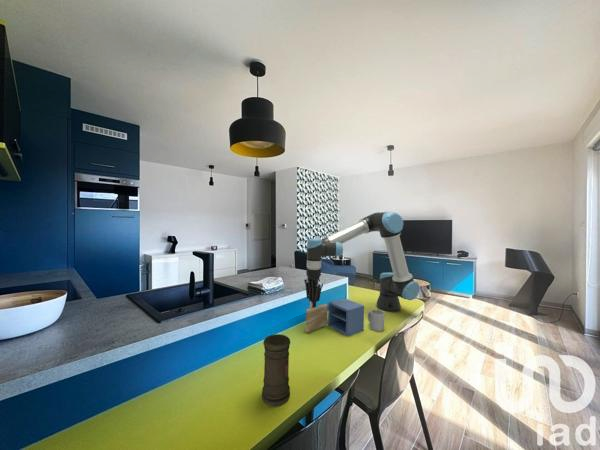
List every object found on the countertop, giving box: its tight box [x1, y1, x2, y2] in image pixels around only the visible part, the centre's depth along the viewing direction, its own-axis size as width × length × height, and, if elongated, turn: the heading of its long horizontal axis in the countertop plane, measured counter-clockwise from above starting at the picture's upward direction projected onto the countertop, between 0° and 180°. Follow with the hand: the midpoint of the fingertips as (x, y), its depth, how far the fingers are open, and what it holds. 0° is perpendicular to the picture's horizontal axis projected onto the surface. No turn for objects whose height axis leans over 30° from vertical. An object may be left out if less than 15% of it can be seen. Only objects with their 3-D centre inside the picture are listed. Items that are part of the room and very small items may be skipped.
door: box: [305, 303, 329, 333], centre depth 124 cm, size 1×15×11 cm, turn 130°
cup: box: [367, 308, 385, 333], centre depth 129 cm, size 7×10×9 cm
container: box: [261, 333, 291, 407], centre depth 77 cm, size 9×9×18 cm
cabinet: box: [327, 298, 365, 337], centre depth 127 cm, size 12×14×13 cm
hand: (312, 313), depth 126 cm, fingers closed
